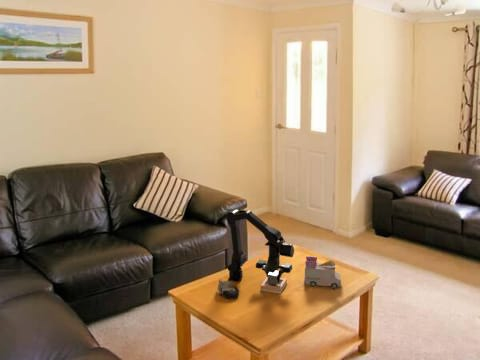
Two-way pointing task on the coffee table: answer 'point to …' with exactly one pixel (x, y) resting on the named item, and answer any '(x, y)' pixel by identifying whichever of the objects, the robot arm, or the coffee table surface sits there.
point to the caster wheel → (228, 289)
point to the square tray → (275, 289)
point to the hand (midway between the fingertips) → (273, 280)
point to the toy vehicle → (321, 273)
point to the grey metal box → (273, 278)
